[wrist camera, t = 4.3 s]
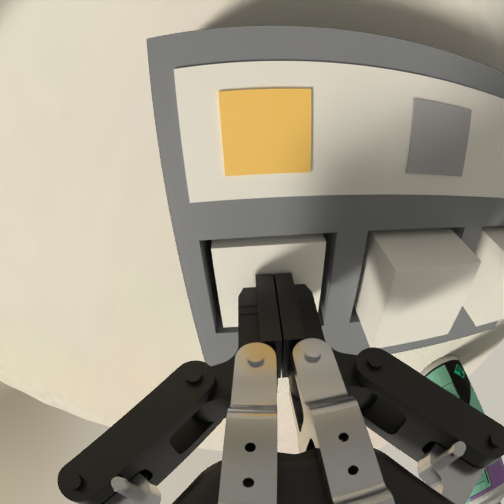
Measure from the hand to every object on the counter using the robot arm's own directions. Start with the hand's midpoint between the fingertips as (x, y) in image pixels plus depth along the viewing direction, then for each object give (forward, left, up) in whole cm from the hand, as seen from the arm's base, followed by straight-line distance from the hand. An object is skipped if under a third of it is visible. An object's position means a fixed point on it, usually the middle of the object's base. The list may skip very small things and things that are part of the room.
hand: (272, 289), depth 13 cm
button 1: (+13, 0, -1) cm, 13 cm away
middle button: (+6, 0, -1) cm, 6 cm away
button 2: (0, 0, -3) cm, 3 cm away
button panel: (+6, +2, -5) cm, 8 cm away
